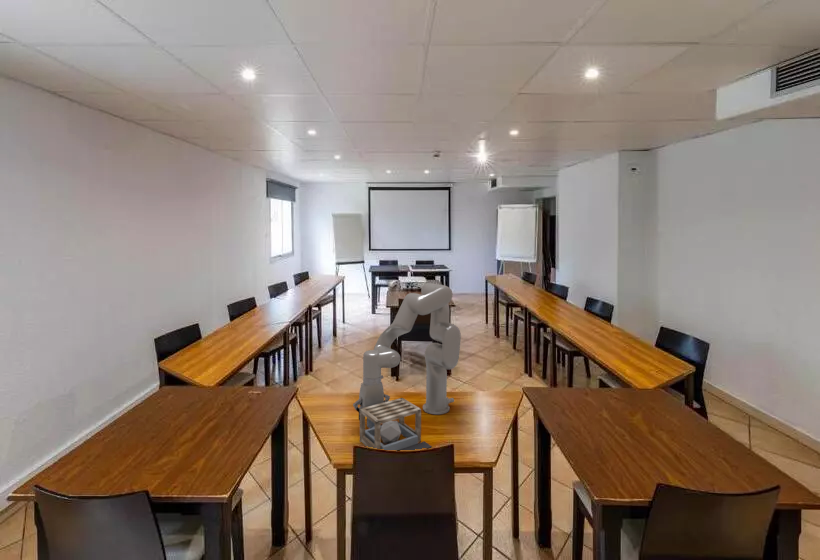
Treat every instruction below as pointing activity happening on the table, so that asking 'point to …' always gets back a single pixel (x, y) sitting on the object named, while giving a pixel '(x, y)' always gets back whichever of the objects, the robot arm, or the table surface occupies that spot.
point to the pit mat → (418, 446)
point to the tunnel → (389, 418)
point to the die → (390, 432)
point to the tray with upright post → (408, 441)
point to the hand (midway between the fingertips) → (371, 418)
